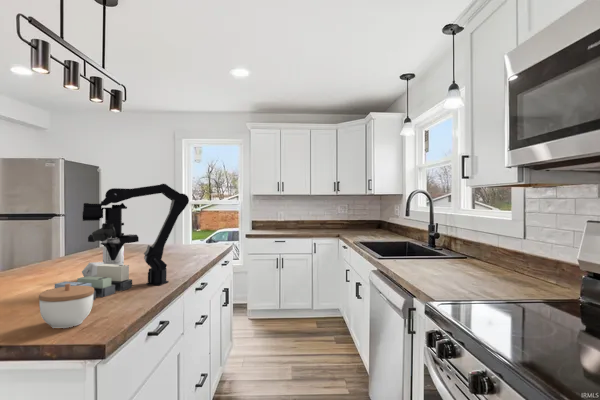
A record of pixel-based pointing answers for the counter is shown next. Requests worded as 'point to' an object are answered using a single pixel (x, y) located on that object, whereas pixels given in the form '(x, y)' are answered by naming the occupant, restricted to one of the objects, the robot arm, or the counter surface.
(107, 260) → the supplement can
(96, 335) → the counter surface
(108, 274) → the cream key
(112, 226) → the robot arm
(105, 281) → the sage key
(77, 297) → the lidded bowl
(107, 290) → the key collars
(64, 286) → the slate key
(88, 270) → the grey angular block
